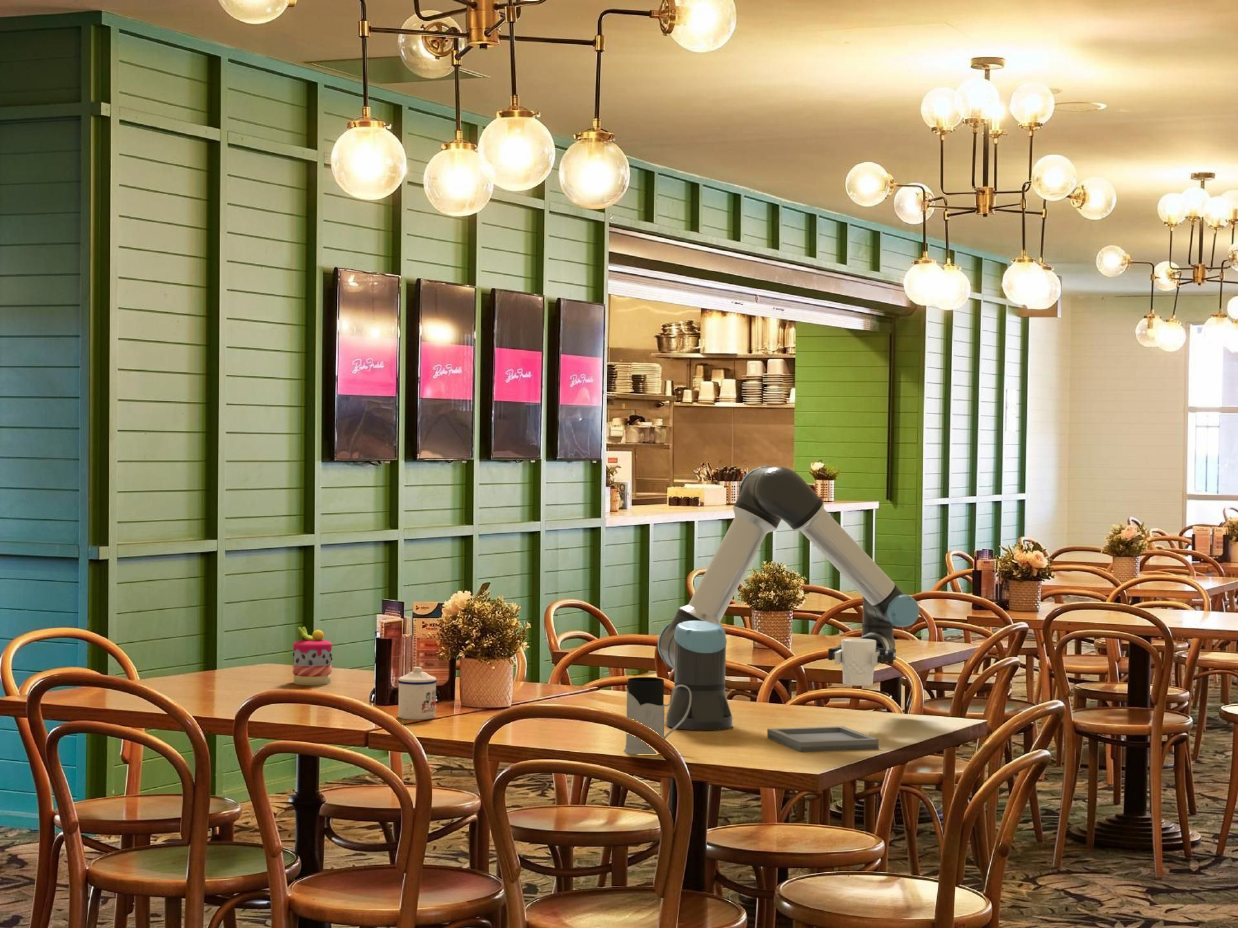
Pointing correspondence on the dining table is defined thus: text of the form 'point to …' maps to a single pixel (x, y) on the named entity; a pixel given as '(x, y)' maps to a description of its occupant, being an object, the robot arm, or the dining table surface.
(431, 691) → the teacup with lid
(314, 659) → the cake
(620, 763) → the dining table surface
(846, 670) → the white cup
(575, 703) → the dining table surface
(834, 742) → the serving tray
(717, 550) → the robot arm
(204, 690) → the dining table surface
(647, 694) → the glass holder
